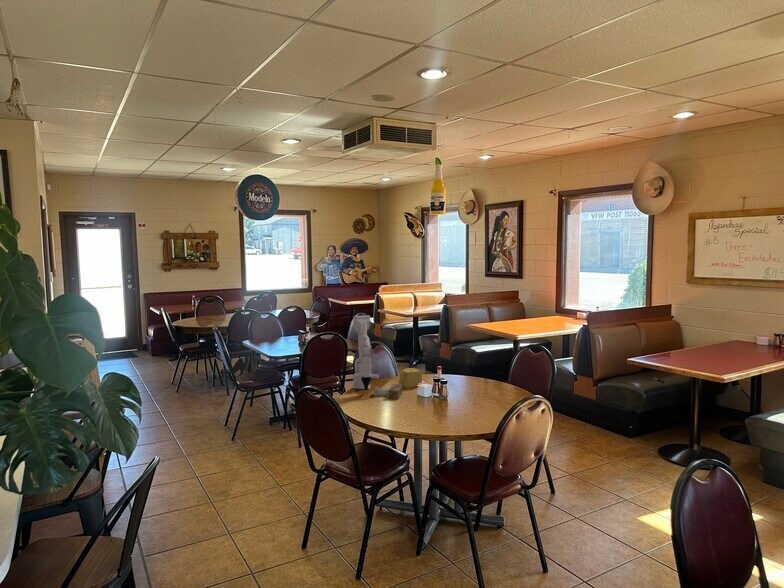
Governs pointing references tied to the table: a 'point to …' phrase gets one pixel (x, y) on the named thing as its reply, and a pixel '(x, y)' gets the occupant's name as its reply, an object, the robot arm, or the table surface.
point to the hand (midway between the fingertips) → (366, 390)
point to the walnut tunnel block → (395, 391)
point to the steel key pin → (380, 392)
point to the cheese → (410, 377)
